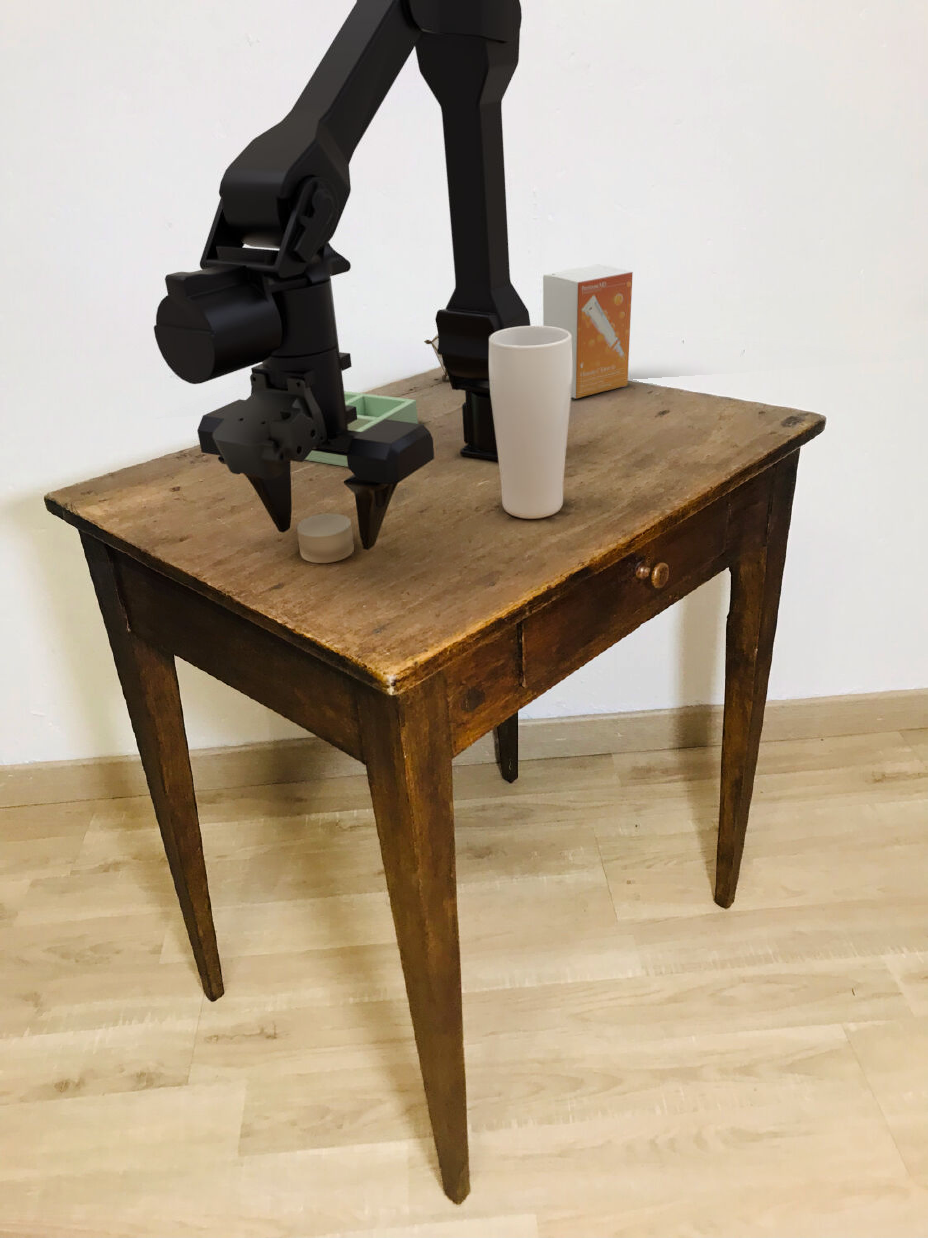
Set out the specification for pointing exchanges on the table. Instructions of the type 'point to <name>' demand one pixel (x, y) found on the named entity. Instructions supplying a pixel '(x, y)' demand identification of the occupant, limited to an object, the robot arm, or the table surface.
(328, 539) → the cylinder
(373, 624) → the table surface
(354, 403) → the grid
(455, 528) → the table surface
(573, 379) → the small box
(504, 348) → the drinking glass
